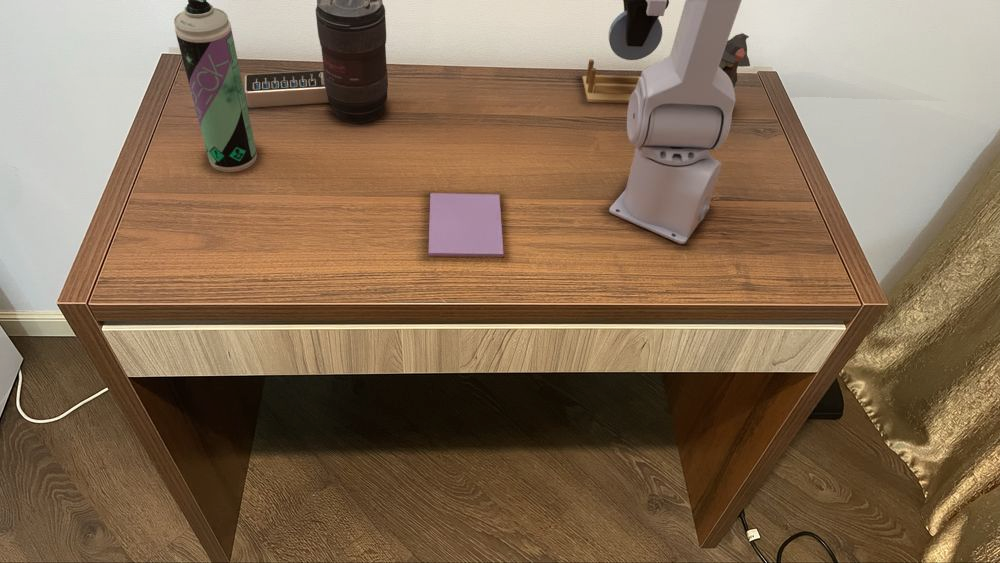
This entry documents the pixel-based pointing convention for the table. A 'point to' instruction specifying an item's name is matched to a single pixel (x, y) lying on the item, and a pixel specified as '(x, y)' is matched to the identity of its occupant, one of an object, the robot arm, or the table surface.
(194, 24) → the spray can
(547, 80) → the table surface
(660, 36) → the plate
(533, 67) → the table surface
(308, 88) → the multiport hub
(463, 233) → the mat
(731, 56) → the wizard figurine
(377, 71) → the camera lens
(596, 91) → the rack
